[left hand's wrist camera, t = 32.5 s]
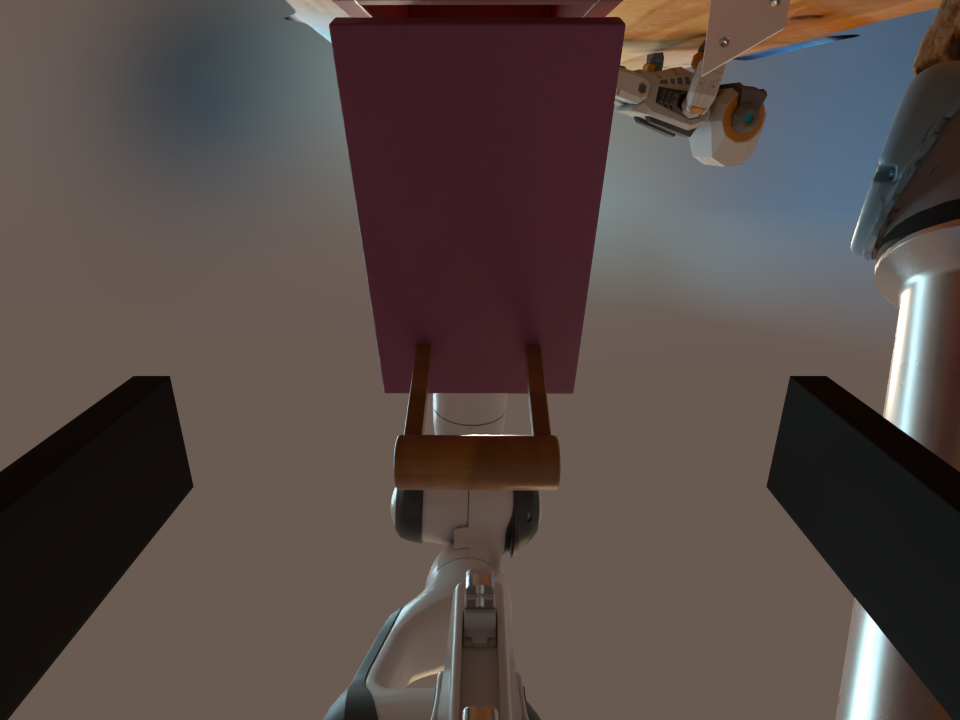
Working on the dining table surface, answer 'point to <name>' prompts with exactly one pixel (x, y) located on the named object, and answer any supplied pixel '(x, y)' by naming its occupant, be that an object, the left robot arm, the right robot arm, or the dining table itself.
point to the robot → (694, 108)
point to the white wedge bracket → (740, 28)
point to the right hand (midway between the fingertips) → (480, 638)
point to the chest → (477, 8)
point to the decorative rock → (941, 38)
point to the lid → (477, 218)
